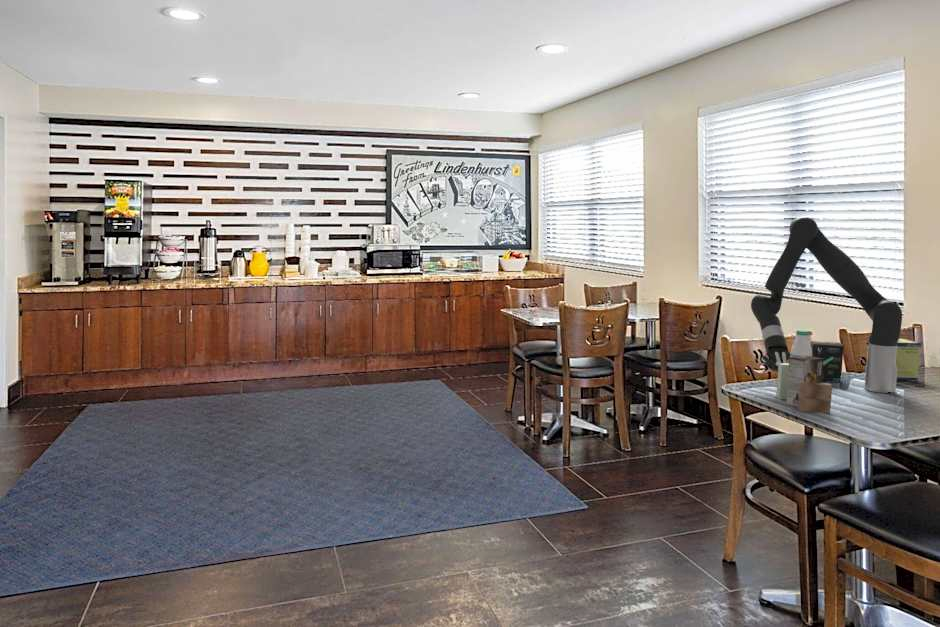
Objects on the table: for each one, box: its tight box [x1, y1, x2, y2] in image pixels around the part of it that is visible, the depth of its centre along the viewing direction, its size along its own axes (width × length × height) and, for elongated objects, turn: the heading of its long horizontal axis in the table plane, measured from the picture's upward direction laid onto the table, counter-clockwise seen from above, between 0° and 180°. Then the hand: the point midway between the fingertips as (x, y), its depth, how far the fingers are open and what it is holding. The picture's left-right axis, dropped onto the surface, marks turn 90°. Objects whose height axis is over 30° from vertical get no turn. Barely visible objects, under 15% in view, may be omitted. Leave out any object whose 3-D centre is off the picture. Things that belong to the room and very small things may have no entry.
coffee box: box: [786, 356, 823, 408], centre depth 240 cm, size 9×6×16 cm
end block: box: [797, 382, 833, 413], centre depth 232 cm, size 9×3×9 cm, turn 87°
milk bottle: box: [790, 329, 812, 357], centre depth 278 cm, size 8×8×20 cm
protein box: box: [895, 338, 922, 381], centre depth 289 cm, size 10×16×16 cm
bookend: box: [775, 362, 789, 400], centre depth 250 cm, size 8×3×12 cm, turn 87°
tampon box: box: [810, 340, 844, 383], centre depth 284 cm, size 11×9×15 cm
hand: (784, 379), depth 255 cm, fingers closed
